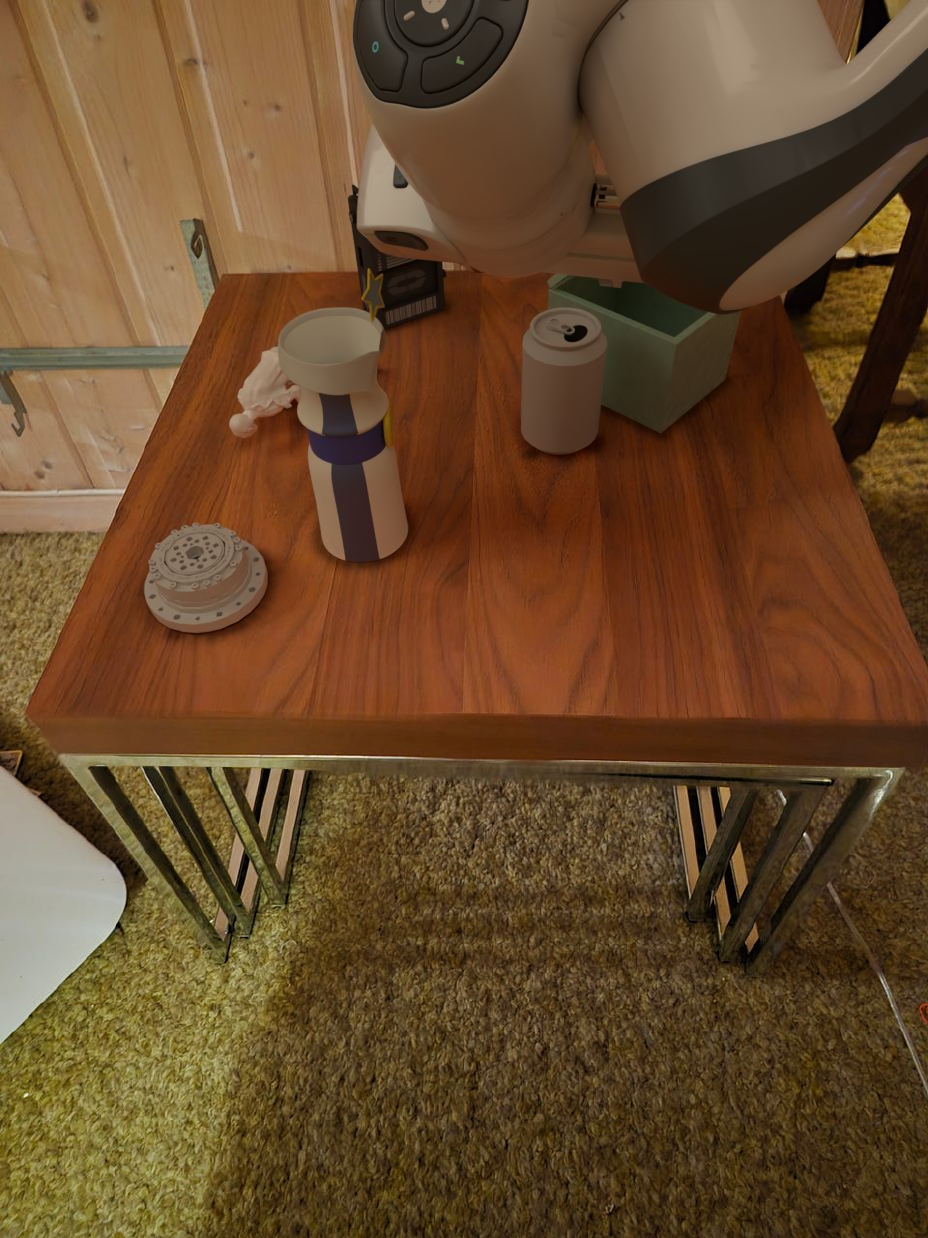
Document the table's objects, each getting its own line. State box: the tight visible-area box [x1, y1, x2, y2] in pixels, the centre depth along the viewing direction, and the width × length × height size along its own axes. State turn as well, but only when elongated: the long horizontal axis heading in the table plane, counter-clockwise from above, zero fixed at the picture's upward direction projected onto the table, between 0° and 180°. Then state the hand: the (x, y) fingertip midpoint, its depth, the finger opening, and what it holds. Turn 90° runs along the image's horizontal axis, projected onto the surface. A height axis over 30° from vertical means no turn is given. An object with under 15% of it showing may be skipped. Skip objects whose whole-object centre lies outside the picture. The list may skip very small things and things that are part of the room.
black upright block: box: [347, 184, 447, 331], centre depth 91 cm, size 10×4×15 cm, turn 120°
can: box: [520, 307, 607, 456], centre depth 77 cm, size 8×8×12 cm
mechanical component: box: [143, 522, 269, 634], centre depth 69 cm, size 10×4×10 cm
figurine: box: [228, 345, 302, 439], centre depth 84 cm, size 7×8×18 cm
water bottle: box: [277, 269, 409, 564], centre depth 65 cm, size 8×9×25 cm
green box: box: [547, 275, 742, 434], centre depth 83 cm, size 15×12×10 cm
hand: (545, 268), depth 58 cm, fingers open, 8 cm apart
